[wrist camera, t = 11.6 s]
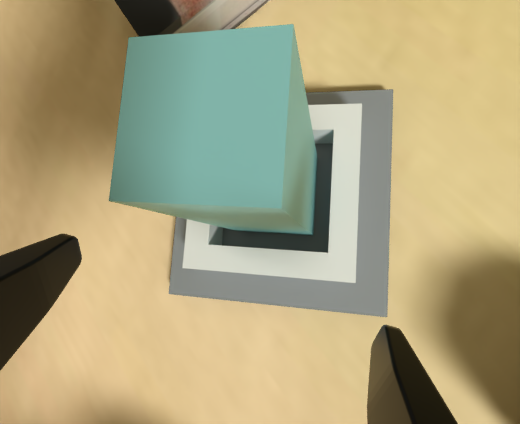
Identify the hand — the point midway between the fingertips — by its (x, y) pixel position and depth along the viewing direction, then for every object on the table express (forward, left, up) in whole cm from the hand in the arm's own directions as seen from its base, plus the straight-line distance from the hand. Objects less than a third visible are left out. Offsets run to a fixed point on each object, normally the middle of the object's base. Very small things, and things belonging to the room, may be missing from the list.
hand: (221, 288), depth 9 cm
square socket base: (+5, +1, -13) cm, 14 cm away
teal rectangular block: (+5, +1, -12) cm, 13 cm away
